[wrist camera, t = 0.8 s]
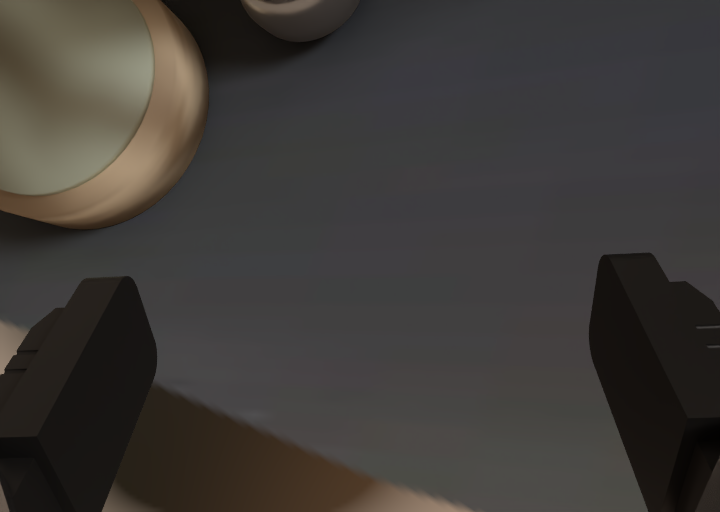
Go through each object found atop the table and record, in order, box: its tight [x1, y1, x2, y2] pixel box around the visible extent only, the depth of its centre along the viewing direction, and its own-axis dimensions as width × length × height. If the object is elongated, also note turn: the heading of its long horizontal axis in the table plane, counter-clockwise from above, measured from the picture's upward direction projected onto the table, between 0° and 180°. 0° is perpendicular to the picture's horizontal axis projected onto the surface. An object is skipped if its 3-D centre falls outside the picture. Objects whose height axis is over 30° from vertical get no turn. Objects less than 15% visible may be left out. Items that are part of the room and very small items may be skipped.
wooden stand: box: [0, 0, 209, 230], centre depth 36 cm, size 14×14×4 cm
